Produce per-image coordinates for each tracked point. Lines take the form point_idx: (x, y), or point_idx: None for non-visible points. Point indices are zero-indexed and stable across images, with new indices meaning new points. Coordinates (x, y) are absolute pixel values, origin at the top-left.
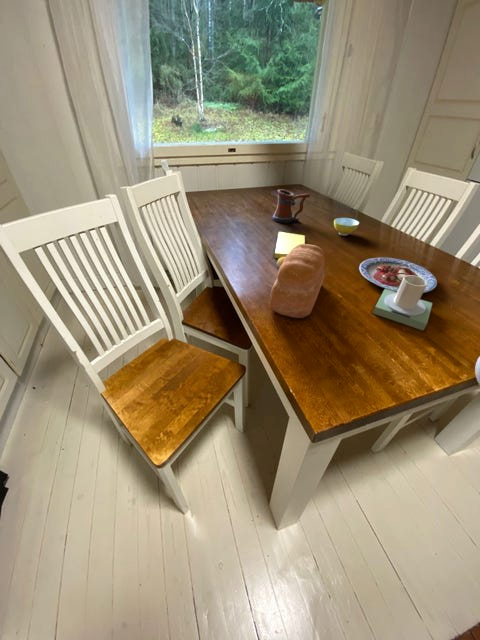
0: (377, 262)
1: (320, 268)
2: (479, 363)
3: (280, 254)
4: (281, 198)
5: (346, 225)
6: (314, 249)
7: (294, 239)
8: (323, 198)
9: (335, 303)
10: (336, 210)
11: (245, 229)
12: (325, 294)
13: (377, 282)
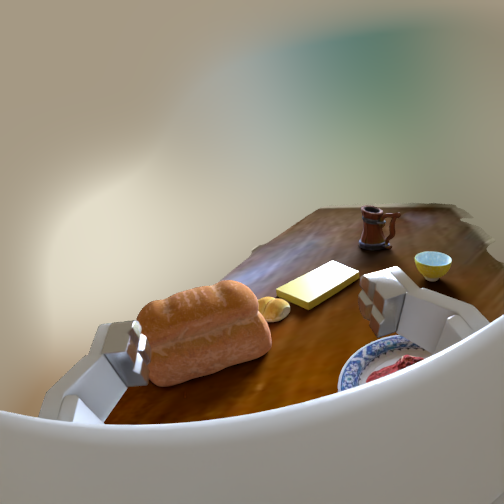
0: (414, 344)
1: (192, 324)
2: None
3: (281, 292)
4: (363, 216)
5: (425, 264)
6: (223, 292)
7: (335, 274)
8: (460, 225)
9: (231, 394)
10: (460, 241)
11: (307, 252)
12: (244, 374)
13: (346, 389)
